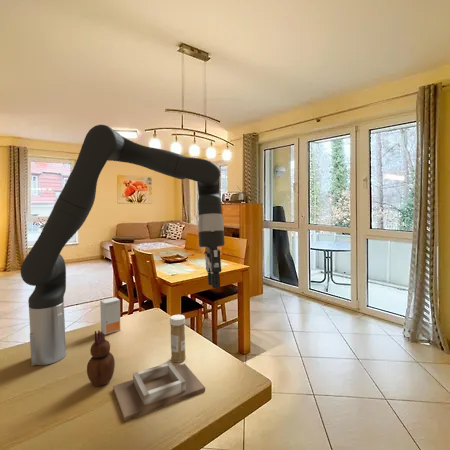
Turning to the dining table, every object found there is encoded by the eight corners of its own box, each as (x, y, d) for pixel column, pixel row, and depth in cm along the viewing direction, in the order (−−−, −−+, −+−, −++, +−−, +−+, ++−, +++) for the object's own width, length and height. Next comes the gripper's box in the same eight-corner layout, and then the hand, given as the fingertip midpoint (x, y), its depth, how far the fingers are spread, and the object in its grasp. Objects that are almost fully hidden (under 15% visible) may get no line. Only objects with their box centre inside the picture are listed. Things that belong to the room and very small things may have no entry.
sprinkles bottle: (188, 360, 90) (187, 317, 89) (174, 364, 87) (173, 320, 86) (181, 353, 93) (181, 312, 92) (168, 358, 91) (167, 315, 90)
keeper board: (124, 421, 65) (124, 406, 64) (113, 389, 76) (112, 376, 75) (205, 391, 75) (204, 377, 75) (184, 366, 86) (184, 355, 86)
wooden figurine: (97, 392, 74) (94, 335, 73) (83, 385, 78) (81, 330, 76) (119, 379, 80) (117, 325, 79) (106, 372, 83) (104, 321, 82)
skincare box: (104, 335, 107) (103, 303, 106) (100, 331, 110) (99, 300, 109) (121, 330, 111) (120, 299, 110) (116, 326, 114) (115, 296, 113)
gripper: (196, 232, 92) (198, 285, 91) (200, 228, 78) (203, 290, 77) (219, 231, 94) (222, 283, 92) (228, 227, 80) (231, 288, 78)
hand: (214, 286), depth 84 cm, fingers open, 8 cm apart
